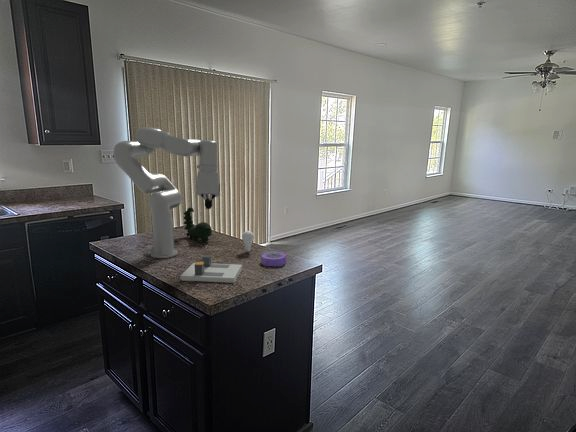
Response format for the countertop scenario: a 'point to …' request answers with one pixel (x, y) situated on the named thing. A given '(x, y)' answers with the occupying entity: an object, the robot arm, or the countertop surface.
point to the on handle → (206, 260)
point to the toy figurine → (196, 228)
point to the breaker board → (213, 273)
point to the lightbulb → (247, 239)
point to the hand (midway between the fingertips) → (208, 208)
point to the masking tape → (273, 259)
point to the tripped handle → (199, 268)
